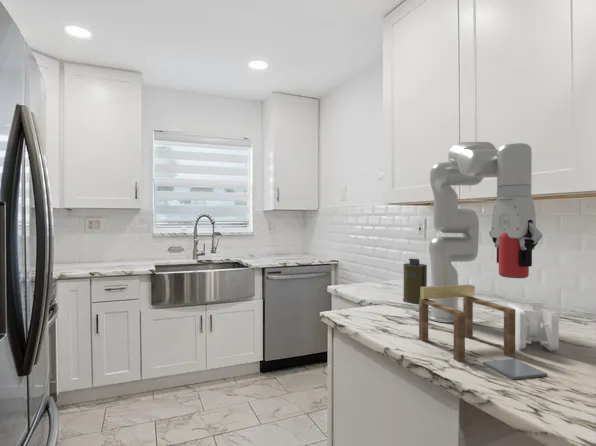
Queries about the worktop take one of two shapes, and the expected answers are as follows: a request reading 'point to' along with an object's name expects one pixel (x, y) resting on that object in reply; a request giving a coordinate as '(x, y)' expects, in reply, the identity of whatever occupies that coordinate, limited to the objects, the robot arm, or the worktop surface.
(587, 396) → the worktop surface
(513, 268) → the beer can
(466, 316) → the frame
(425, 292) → the bar
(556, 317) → the cable organizer
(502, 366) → the coaster
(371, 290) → the worktop surface
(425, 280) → the canister
